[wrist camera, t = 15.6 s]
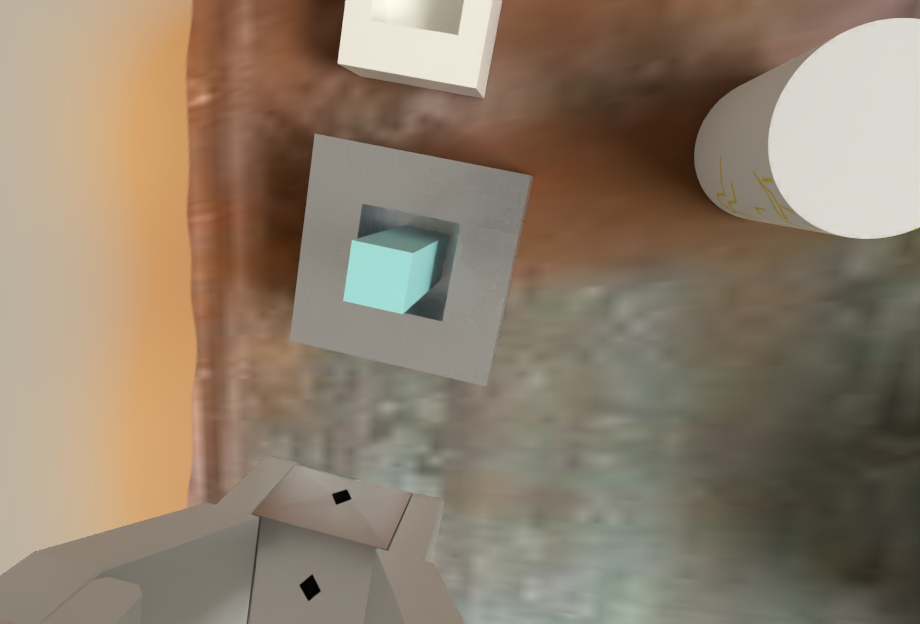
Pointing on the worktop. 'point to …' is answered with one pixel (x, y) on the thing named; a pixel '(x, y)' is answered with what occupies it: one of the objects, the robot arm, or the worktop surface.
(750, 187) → the cup
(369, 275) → the plug
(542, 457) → the worktop surface
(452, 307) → the port
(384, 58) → the white square-hole block
